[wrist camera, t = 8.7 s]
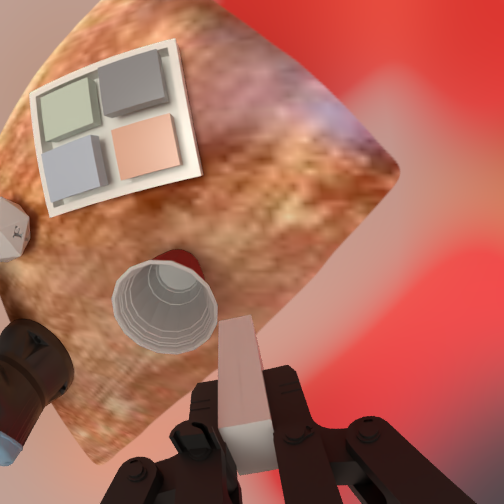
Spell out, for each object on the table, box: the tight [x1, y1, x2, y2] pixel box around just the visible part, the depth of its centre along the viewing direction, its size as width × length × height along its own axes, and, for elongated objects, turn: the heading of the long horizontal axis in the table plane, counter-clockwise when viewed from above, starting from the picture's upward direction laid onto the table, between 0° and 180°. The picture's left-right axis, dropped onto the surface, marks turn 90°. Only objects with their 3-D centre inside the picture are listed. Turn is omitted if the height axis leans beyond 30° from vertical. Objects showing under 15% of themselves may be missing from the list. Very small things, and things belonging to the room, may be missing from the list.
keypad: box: [29, 38, 204, 218], centre depth 33 cm, size 20×17×4 cm
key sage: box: [40, 77, 101, 142], centre depth 31 cm, size 7×6×3 cm
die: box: [0, 197, 30, 262], centre depth 33 cm, size 8×9×10 cm
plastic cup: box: [112, 250, 218, 354], centre depth 35 cm, size 11×11×12 cm
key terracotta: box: [111, 113, 183, 180], centre depth 33 cm, size 7×6×3 cm
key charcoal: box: [98, 49, 169, 118], centre depth 29 cm, size 7×6×3 cm
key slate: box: [41, 135, 108, 203], centre depth 31 cm, size 7×6×3 cm
